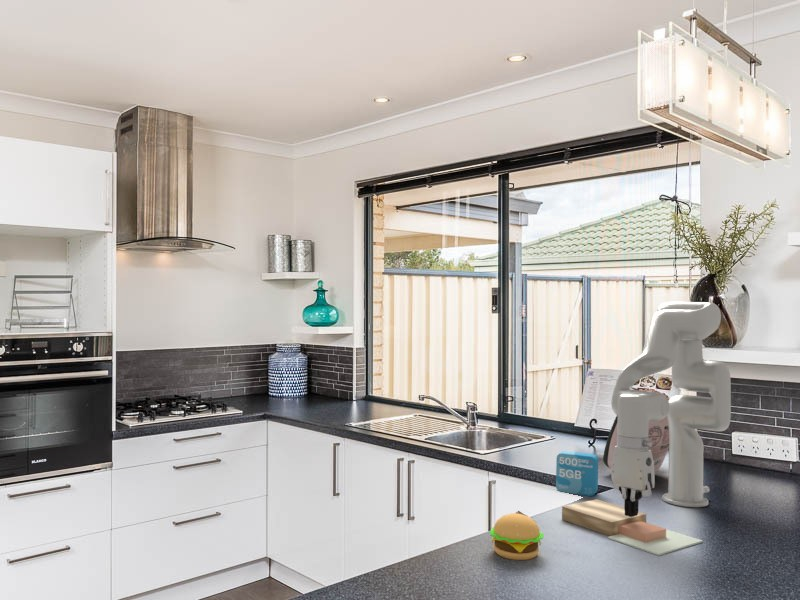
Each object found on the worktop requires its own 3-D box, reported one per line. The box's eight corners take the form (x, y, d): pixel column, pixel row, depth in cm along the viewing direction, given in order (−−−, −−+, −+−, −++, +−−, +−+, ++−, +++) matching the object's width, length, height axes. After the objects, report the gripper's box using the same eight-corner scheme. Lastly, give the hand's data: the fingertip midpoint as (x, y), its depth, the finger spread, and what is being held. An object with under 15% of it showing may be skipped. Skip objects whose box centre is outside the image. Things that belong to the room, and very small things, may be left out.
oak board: (596, 511, 191) (596, 499, 191) (646, 527, 178) (646, 513, 178) (561, 519, 183) (562, 506, 183) (611, 536, 170) (611, 522, 170)
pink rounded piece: (634, 468, 247) (636, 385, 248) (683, 480, 231) (685, 391, 232) (594, 475, 235) (596, 387, 236) (643, 488, 219) (645, 394, 219)
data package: (555, 491, 212) (556, 452, 213) (558, 488, 216) (559, 450, 217) (595, 496, 207) (596, 457, 208) (597, 493, 211) (598, 454, 212)
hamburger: (511, 540, 165) (512, 504, 165) (553, 554, 156) (554, 516, 156) (478, 551, 157) (479, 513, 157) (521, 567, 148) (522, 526, 148)
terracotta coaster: (638, 528, 176) (638, 520, 176) (666, 537, 169) (666, 529, 169) (618, 533, 171) (618, 525, 171) (645, 542, 165) (645, 534, 165)
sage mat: (652, 526, 179) (652, 525, 179) (702, 542, 167) (702, 540, 167) (608, 538, 168) (608, 536, 168) (658, 555, 157) (658, 553, 157)
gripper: (667, 446, 170) (666, 520, 170) (617, 436, 182) (616, 506, 182) (649, 449, 166) (648, 525, 165) (599, 439, 178) (597, 510, 178)
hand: (631, 515), depth 174 cm, fingers closed
